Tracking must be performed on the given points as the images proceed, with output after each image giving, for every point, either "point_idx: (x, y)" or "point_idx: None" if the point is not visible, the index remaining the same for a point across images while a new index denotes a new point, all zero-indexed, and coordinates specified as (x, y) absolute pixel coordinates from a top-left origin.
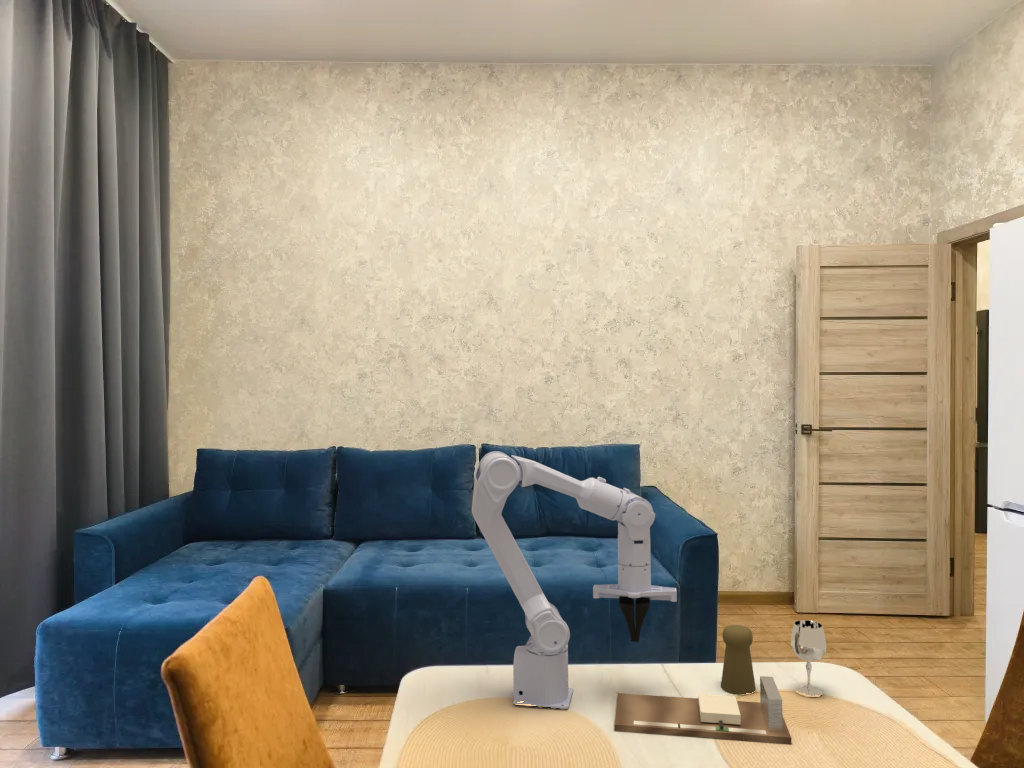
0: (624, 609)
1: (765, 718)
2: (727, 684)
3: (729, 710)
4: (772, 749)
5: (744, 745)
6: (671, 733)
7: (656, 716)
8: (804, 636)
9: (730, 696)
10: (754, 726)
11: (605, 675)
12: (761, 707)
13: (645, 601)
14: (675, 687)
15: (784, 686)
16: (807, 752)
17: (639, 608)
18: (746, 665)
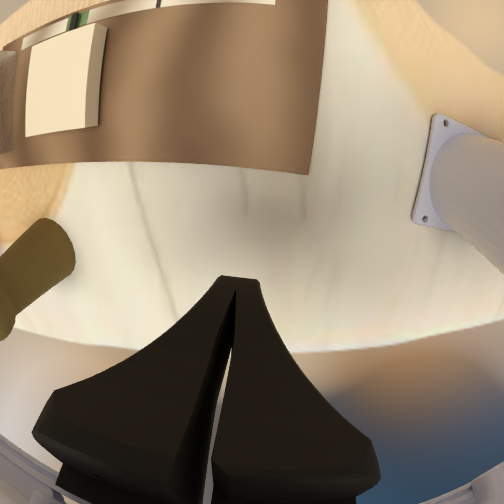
0: (325, 433)
1: (10, 88)
2: (53, 237)
3: (42, 57)
4: (33, 18)
5: (63, 8)
6: None
7: (208, 35)
8: None
9: (31, 132)
10: (29, 58)
11: (317, 306)
12: (10, 137)
13: (94, 478)
14: (154, 248)
15: None
16: (4, 34)
17: (132, 425)
18: (4, 252)
